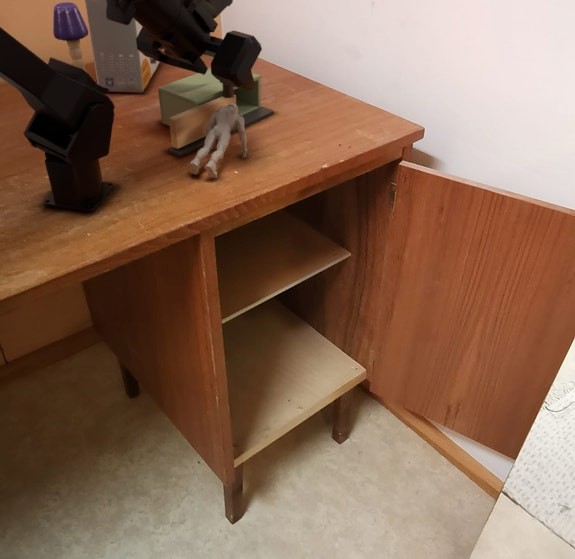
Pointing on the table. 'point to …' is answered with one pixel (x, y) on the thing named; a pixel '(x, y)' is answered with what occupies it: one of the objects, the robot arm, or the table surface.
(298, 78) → the table surface
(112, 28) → the hard drive box
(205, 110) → the door
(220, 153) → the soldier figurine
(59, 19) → the toy lamp
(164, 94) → the cabinet
